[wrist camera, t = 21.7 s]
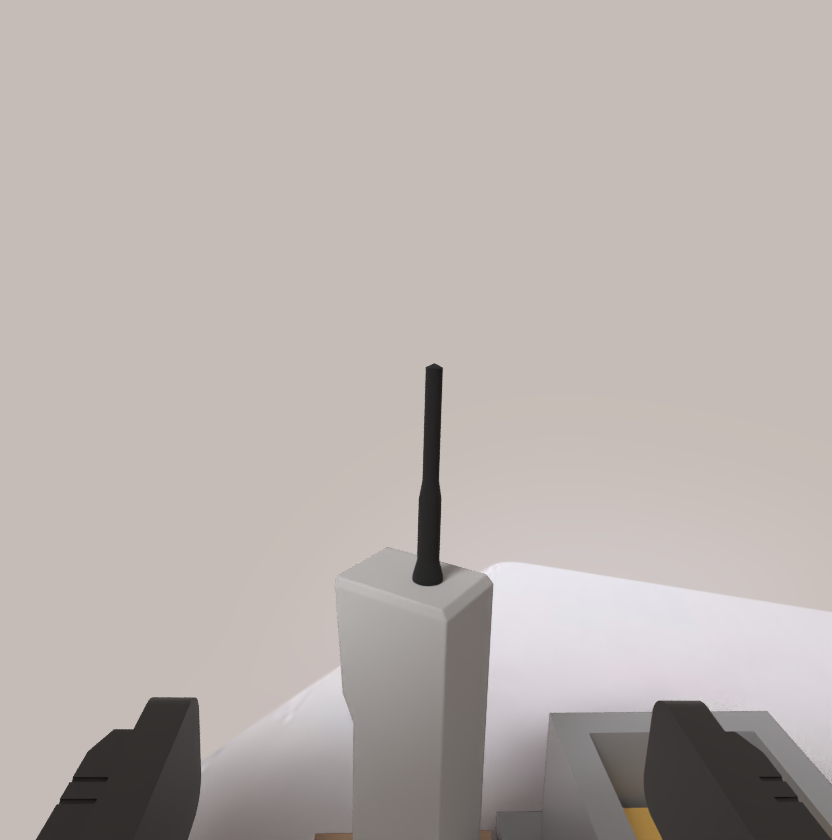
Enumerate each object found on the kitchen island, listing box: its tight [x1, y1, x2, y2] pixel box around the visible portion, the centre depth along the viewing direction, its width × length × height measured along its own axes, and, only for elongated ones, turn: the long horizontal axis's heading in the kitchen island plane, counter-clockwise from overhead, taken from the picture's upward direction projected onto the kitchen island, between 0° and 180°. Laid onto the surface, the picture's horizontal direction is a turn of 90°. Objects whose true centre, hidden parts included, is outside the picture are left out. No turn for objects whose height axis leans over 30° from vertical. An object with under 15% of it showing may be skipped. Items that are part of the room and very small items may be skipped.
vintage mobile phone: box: [335, 364, 493, 840], centre depth 27 cm, size 4×5×25 cm
